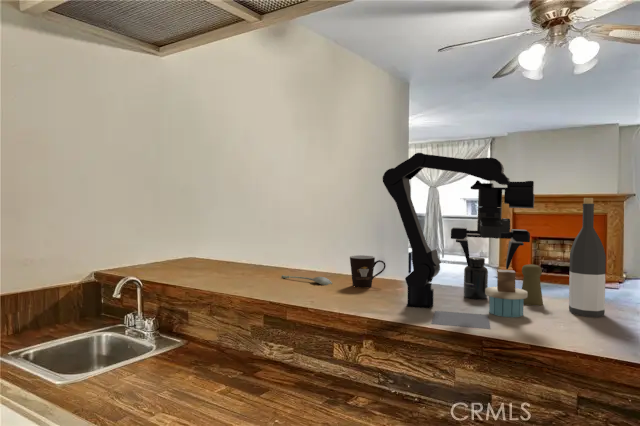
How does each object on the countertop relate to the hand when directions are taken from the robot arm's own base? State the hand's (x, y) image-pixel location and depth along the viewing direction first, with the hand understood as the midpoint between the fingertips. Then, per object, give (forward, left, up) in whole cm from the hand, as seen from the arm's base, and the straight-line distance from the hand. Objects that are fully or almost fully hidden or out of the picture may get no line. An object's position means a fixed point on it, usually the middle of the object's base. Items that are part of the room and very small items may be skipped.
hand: (487, 267), depth 114 cm
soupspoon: (-60, +28, -13) cm, 68 cm away
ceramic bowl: (+5, +1, -12) cm, 13 cm away
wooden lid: (+5, +1, -7) cm, 8 cm away
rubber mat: (-6, -9, -12) cm, 16 cm away
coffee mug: (-37, +26, -12) cm, 47 cm away
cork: (+13, +17, -12) cm, 24 cm away
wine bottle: (+25, +9, -12) cm, 29 cm away
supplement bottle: (-2, +20, -12) cm, 23 cm away
